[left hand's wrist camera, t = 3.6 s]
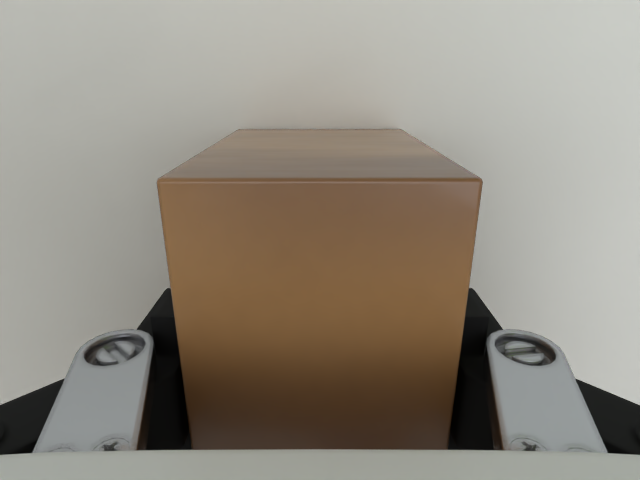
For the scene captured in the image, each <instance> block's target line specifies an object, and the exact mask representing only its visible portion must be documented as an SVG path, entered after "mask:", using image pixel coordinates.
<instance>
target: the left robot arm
mask: <svg viewBox="0 0 640 480" xmlns="http://www.w3.org/2000/svg"><path fill="white" fill-rule="evenodd" d="M0 480H640V405H638V404H635V403H633V402H630V401H628V400H626V399H623V398H621V397H618V396H616V395H614V394H611V393H609V392H606V391H604V390H602V389H599V388H597V387H594V386H592V385H590V384H587V383H585V382H582V381H580V380H577V379H575V377H574V375H573V373H572V371H571V368H570V366H569V364H568V361H567V359H566V357H565V355H564V353H563V352H562V350H561V349H560V347H558V346H557V345H556V344H554V343H553V342H552V341H550V340H548V339H546V338H544V337H543V336H540V335H537V334H534V333H531V332H527V331H522V330H513V329H506V330H503V329H502V327H501V326H500V325H499V323H498V322H497V321H496V319H495V318H494V317H493V315H492V314H491V312H490V311H489V310H488V308H487V307H486V306H485V304H484V303H483V301H482V300H481V299H480V297H479V296H478V295H477V293H476V292H475V291H474V290H473V289H472V288H469V290H468V298H467V305H466V313H465V321H464V328H463V336H462V344H461V351H460V359H459V367H458V374H457V382H456V389H455V397H454V405H453V412H452V420H451V428H450V435H449V443H448V450H362V449H278V450H192V446H191V438H190V431H189V423H188V416H187V408H186V400H185V393H184V385H183V378H182V370H181V363H180V355H179V347H178V340H177V332H176V325H175V317H174V309H173V302H172V294H171V288H167V289H166V290H165V291H164V293H163V294H162V295H161V297H160V298H159V300H158V301H157V302H156V304H155V305H154V306H153V308H152V309H151V311H150V312H149V313H148V315H147V316H146V317H145V319H144V320H143V321H142V323H141V324H140V326H139V327H138V328H137V330H134V329H127V330H118V331H113V332H109V333H106V334H103V335H100V336H97V337H96V338H94V339H92V340H90V341H88V342H87V343H86V344H84V345H83V346H82V347H80V349H79V350H78V352H77V353H76V355H75V357H74V359H73V361H72V364H71V366H70V368H69V371H68V373H67V375H66V377H65V379H62V380H60V381H57V382H55V383H53V384H50V385H48V386H45V387H43V388H41V389H38V390H36V391H33V392H31V393H29V394H26V395H24V396H21V397H19V398H17V399H14V400H12V401H9V402H7V403H5V404H2V405H0Z"/></svg>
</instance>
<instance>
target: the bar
mask: <svg viewBox="0 0 640 480" xmlns="http://www.w3.org/2000/svg"><path fill="white" fill-rule="evenodd" d="M482 183H483V182H482V179H481V178H479V177H478V176H476V175H474V174H473V173H471V172H470V171H468V170H466V169H465V168H463V167H461V166H460V165H458V164H457V163H455V162H453V161H452V160H450V159H448V158H447V157H445V156H444V155H442V154H440V153H439V152H437V151H435V150H434V149H432V148H431V147H429V146H427V145H426V144H424V143H422V142H421V141H419V140H418V139H416V138H414V137H413V136H411V135H409V134H408V133H406V132H405V131H403V130H401V129H239V130H237V131H235V132H234V133H232V134H230V135H229V136H227V137H225V138H224V139H222V140H220V141H219V142H217V143H216V144H214V145H212V146H211V147H209V148H207V149H206V150H204V151H203V152H201V153H199V154H198V155H196V156H194V157H193V158H191V159H189V160H188V161H186V162H185V163H183V164H181V165H180V166H178V167H176V168H175V169H173V170H172V171H170V172H168V173H167V174H165V175H163V176H162V177H160V178H158V180H157V188H158V196H159V203H160V211H161V218H162V226H163V234H164V241H165V249H166V256H167V264H168V272H169V279H170V287H171V294H172V302H173V309H174V317H175V325H176V332H177V340H178V347H179V355H180V363H181V370H182V378H183V385H184V393H185V400H186V408H187V416H188V423H189V431H190V438H191V446H192V450H278V449H362V450H448V443H449V435H450V428H451V420H452V412H453V405H454V397H455V389H456V382H457V374H458V367H459V359H460V351H461V344H462V336H463V328H464V321H465V313H466V305H467V298H468V290H469V283H470V275H471V267H472V260H473V252H474V244H475V237H476V229H477V221H478V214H479V206H480V199H481V191H482Z"/></svg>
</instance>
